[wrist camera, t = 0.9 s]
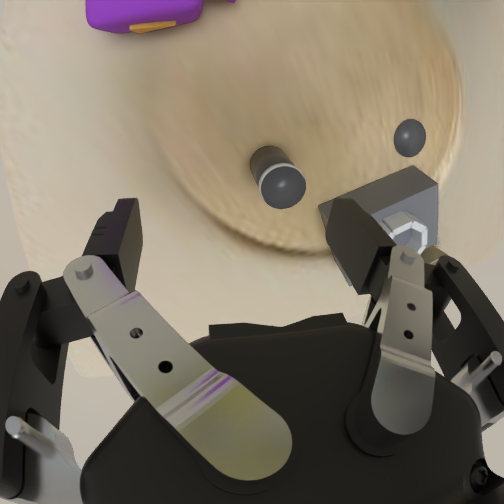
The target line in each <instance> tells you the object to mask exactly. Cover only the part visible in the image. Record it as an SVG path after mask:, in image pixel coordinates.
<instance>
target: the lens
mask: <svg viewBox="0 0 504 504" xmlns="http://www.w3.org/2000/svg"><path fill="white" fill-rule="evenodd" d="M250 169H251V171H252V174H253V176H254V178H255V180H256V183H257V185H258V187H259V192H260V194H261V196H262V198H263V200H264V201H265V202H266V203H267V204H268V205H270V206H271V207H274V208H277V209H286V208H289V207H292V206H294V205H295V204H297V203H298V202H299V201H300V200H301V199H302V197H303V196H304V194H305V191H306V182H305V178H304V176H303V174H302V173H301V171H300V170H299V169H298V168H297V167H295V166H294V164H293V163H292V162H291V161H290V159H289V158H288V157H287V156H286V154H285V153H284V152H283V151H282V150H281V149H279V148H277V147H274V146H265V147H262V148H260V149H258V150H257V151H256V152H255V153H254V154H253V156H252V158H251V161H250Z"/></svg>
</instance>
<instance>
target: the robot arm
mask: <svg viewBox="0 0 504 504" xmlns="http://www.w3.org/2000/svg"><path fill="white" fill-rule="evenodd" d="M326 240H327V243H328V245H329V246H330V248H331V250H332V251H333V253H334V254H335V256H336V258H337V259H338V261H339V263H340V264H341V266H342V268H343V270H344V271H345V273H346V275H347V276H348V278H349V280H350V281H351V283H352V285H353V287H354V288H355V290H356V292H357V294H358V295H362V294H371V297H370V299H369V301H368V304H367V308H366V311H365V315H364V319H363V322H362V325H358V324H354V323H347V321H346V319H345V317H344V315H343V313H336V314H328V315H320V316H313V317H310V318H307V319H304V320H301V321H299V322H296V323H293V324H290V325H287V326H284V327H276V326H267V325H259V324H250V323H233V324H217V325H209V336H206V337H202V338H200V339H197V340H195V341H193V342H191V343H189V344H188V343H187V342H186V341H185V340H184V339H183V338H182V337H181V336H180V335H179V334H178V333H177V332H176V331H175V330H174V329H173V328H172V327H171V326H170V325H169V324H168V323H167V321H166V320H165V319H164V318H163V317H162V316H161V315H160V314H159V313H158V312H157V311H156V310H155V309H154V308H153V307H152V306H151V305H150V304H149V302H148V301H147V300H146V299H145V298H144V297H143V296H142V295H141V294H140V293H139V292H138V291H136V290H135V285H136V279H137V273H138V267H139V262H140V256H141V251H142V245H143V235H142V226H141V219H140V210H139V202H138V199H137V198H125V199H118V201H117V203H116V206H115V208H114V210H113V212H106V213H105V214H103V215H102V216H101V217H100V218H99V219H98V221H97V223H96V225H95V227H94V229H93V231H92V234H91V236H90V238H89V240H88V243H87V245H86V247H85V250H84V252H83V255H82V256H81V257H79V258H76V259H74V260H73V261H71V262H70V263H69V264H68V265H67V266H66V268H65V270H64V273H63V276H62V277H59V278H55V279H52V280H48V281H45V282H42V280H41V278H40V276H39V274H38V273H36V272H33V271H26V272H23V273H20V274H18V275H16V276H15V277H14V278H13V279H11V281H10V282H9V283H8V285H7V287H6V289H5V291H4V293H3V295H2V298H1V300H0V498H3V499H5V500H8V501H11V502H15V503H18V504H504V478H502V477H500V476H498V475H496V474H495V473H493V472H492V471H491V470H490V469H489V467H488V466H487V463H486V460H485V457H484V452H483V444H482V434H481V433H482V431H484V430H486V429H487V428H489V427H490V426H492V425H493V424H494V423H496V422H497V421H499V420H500V419H501V418H503V417H504V321H503V320H502V318H501V317H500V315H499V314H498V312H497V311H496V309H495V308H494V306H493V305H492V304H491V302H490V301H489V299H488V298H487V297H486V295H485V294H484V293H483V291H482V290H481V288H480V287H479V286H478V284H477V283H476V282H475V280H474V279H473V278H472V277H471V275H470V274H469V273H468V272H467V270H466V269H465V268H464V267H463V265H462V264H461V263H460V262H459V261H457V260H456V259H454V258H452V257H450V256H446V255H442V256H440V257H439V259H438V261H437V263H436V265H432V264H427V263H424V260H423V258H422V257H421V256H420V254H419V253H417V252H416V251H415V250H413V249H411V248H409V247H406V246H402V245H397V244H396V243H395V242H394V241H393V240H392V238H391V237H390V236H389V235H388V234H387V233H386V231H385V230H383V228H382V227H381V226H380V225H379V224H378V222H377V221H376V220H375V219H374V218H373V217H372V216H371V215H370V214H368V213H367V212H365V211H364V210H363V209H362V208H361V207H360V206H359V205H358V204H357V202H356V201H355V200H354V199H352V198H335V199H334V201H333V204H332V207H331V211H330V215H329V219H328V223H327V227H326ZM451 299H452V300H453V301H454V303H455V304H456V306H457V307H458V309H459V311H460V313H461V322H460V324H459V326H458V327H457V328H456V330H455V329H454V327H453V325H452V324H451V322H450V320H449V319H448V317H447V315H446V314H445V312H444V309H445V308H446V306H447V305H448V303H449V302H450V300H451ZM87 337H90V338H91V340H92V341H93V343H94V344H95V346H96V347H97V349H98V351H99V352H100V354H101V355H102V357H103V358H104V360H105V361H106V363H107V364H108V366H109V367H110V368H111V370H112V371H113V373H114V374H115V376H116V377H117V379H118V380H119V382H120V383H121V385H122V386H123V388H124V389H125V391H126V392H127V394H128V395H129V396H130V397H131V399H132V400H133V401H134V403H133V405H132V406H131V407H130V408H129V410H128V411H127V412H126V413H125V415H123V417H122V418H121V419H120V420H119V421H118V423H117V424H116V425H115V426H114V427H113V429H112V430H111V431H110V432H109V433H108V435H107V436H106V437H105V438H104V440H103V441H102V442H101V443H100V444H99V446H98V447H97V448H96V449H95V450H94V451H93V453H92V454H91V455H90V456H89V457H88V459H87V460H86V462H85V464H84V466H83V468H82V470H81V469H80V468H79V466H78V465H77V463H76V461H75V459H74V453H73V448H72V445H71V443H70V441H69V439H68V438H67V437H66V436H65V435H64V434H63V433H61V431H59V423H60V409H61V408H60V407H61V397H62V387H63V379H64V370H65V364H66V363H65V362H66V357H67V351H68V345H69V342H72V341H76V340H79V339H83V338H87ZM431 350H432V352H433V354H434V355H435V357H436V359H437V361H438V363H439V365H440V367H441V369H442V372H443V374H444V376H445V377H443V376H442V375H441V374H439V373H437V372H436V371H435V370H434V368H432V367H431V364H430V363H431Z"/></svg>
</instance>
